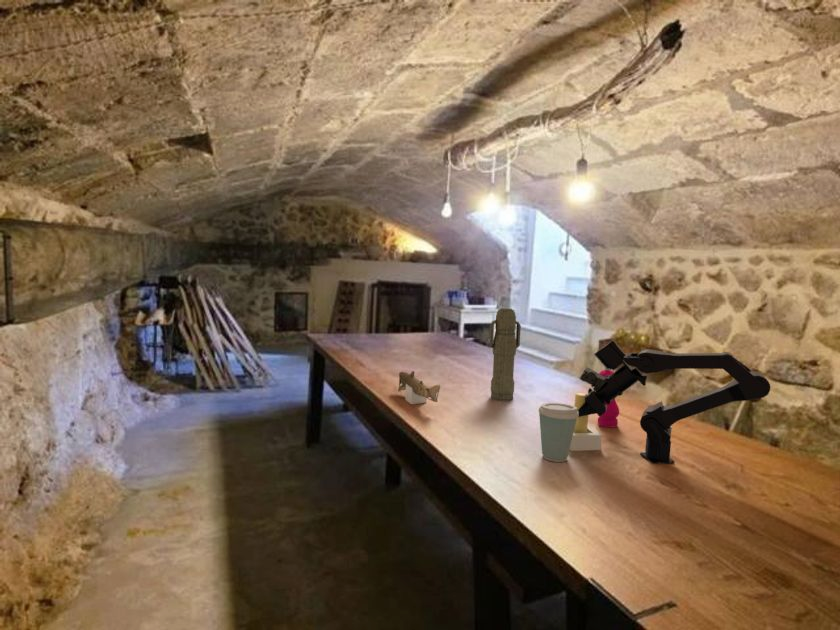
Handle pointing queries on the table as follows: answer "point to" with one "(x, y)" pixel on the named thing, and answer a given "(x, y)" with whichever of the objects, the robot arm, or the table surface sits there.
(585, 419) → the peg
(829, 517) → the table surface
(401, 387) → the wood carving
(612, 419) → the pepper mill
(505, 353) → the thermos
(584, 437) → the socket
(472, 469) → the table surface
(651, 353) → the robot arm
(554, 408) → the disposable coffee cup
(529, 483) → the table surface
